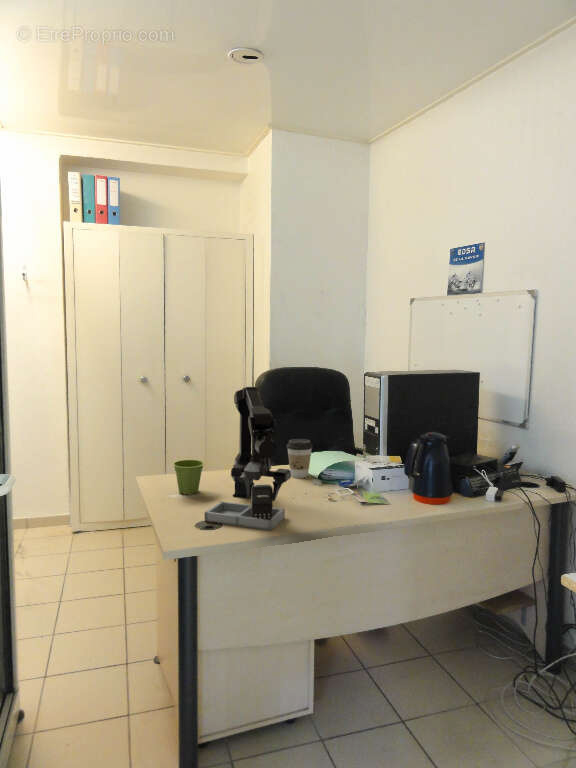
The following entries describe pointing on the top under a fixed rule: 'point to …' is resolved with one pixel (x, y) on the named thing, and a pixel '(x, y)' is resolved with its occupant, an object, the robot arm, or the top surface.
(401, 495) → the top surface
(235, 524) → the divided tray
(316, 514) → the top surface
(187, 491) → the plant pot
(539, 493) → the top surface
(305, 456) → the coffee cup
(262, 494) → the battery charger
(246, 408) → the robot arm
